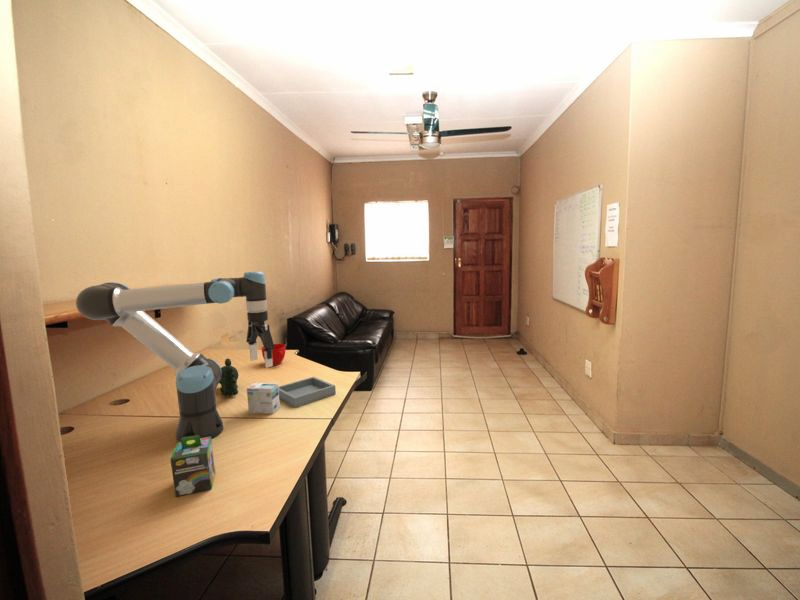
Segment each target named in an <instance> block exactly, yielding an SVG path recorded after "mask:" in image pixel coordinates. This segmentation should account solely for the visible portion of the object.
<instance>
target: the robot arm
mask: <svg viewBox="0 0 800 600" xmlns="http://www.w3.org/2000/svg"><path fill="white" fill-rule="evenodd" d="M266 287H267V286H266V278H265V274H264V272H263V271H258V270H257V271H246V272H244V273H243V276H242V277H224V278H222V277H219V278H213V279H211V280H210V281H205V282H195V283H185V284H183V283H182V284H174V285H173V284H172V285H166V286H165V285H162V286H154V287H153V286H152V287H151V286H150V287H143V288H142V287H141V288H130V287H129V286H127V285H125V284H123V283H120V282H119V283H118V282H104V283H102V284H101V283H100V284H97V285H96V284H95V285H92V286H88V287H86V288H84V289H82V290H81V291H80V292H79V293H78V294H77V297H76V298H75V299H76V300H75V307H76V310H77V311H78V313H80V315H82V316H83V317H84V318H87V319H88V320H91V321H92V320H93V321H102V320H104V321H106V322H107V323H109V324H110V325H111V326H112V327H121V328H123V329H124V331H126V332H128V333H129V334H130V335H131V336H133V338H135V339H136V340H137V341H139V342H140V343H141V344H142V345H144V347H146V348H147V349H149V351H151V352H152V353H154V354H155V355H156V356H157V357H158V358H160V360H162V361H163V362H165V363H166V364H167V365H168V366H169V367H170V368H172V369H173V370H174V371H175V387H176V394H177V404H178V412H179V418H178V422H177V425H176V429H175V438H176V441H177V442H178V443H179V442H181V438H185V437H191V436H197V435H198V436H200V438H204V437H210V436H211V439H213V438H215V437H217V436H219V435H220V434H221V433H222V432H223V431H224V422H223V420H222V417H221V415H220V414H219V412H218V409H217V404H216V403H217V401H216V389H217V387H218V385H219V384H220V383H219V382H220V380H221V374H222V371H221V368H222V367H221V366H220V364H219V363H218V362H217V361H216V360H214V359H212V358H207V357H205V355H204V354H202V353H201V352H193V351H192V350H191V349H189V347H187V346H186V345H184V344H183V343H182V341H180V340H179V339H178V338H176V337H175V336H174V335H173V334H172V333H171V332H169V331H168V330H167V329H166V328H164V327H163V326H162V325H161V324H160V323H158V322H157V320H155V319H154V318H153V317H151V316H150V315H149V314H148V313H146V311H154V310H162V309H163V310H164V309H173V308H180V307H181V308H182V307H190V306H197V305H199V306H200V305H207V304H219V305H220V304H226V303H229V302H230V301H231V300H232V299H233V298H243V297H245V305H246V307H245V308H246V311H247V313H246V316H247V321H248V322H247V326H248V327H247V333H246V343H248V344H247V345H249V346H248V347H249V356H250V361H256V360H259V358H258V346H257V345H258V344H257V339H258V337H259V338H260V340H261V343H262V347H263V346H264V348H265V349H264V355H265V360H264V364H265V367H264V368H271V367H273V366H274V365H273V360H272V350H273V349H275V347H274V344H275V343H274V341H273V337H272V333H271V331H270V325H269V324H265V322H266V321H268V320H269V315H268V313H269V312H268V311H267V310H268V301H267V288H266ZM188 441H189V440H188Z"/></svg>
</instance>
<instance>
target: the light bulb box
mask: <svg viewBox="0 0 800 600" xmlns="http://www.w3.org/2000/svg"><path fill="white" fill-rule="evenodd" d="M278 387H279V382H253V383H252V384H251V385H249V386H248V387H246V394H247V395H246V396H247V406H248V414H263V415H264V414H268V415H269V414H270V415H273V414H275V413H276V412H277V410H279V409H280V408H281V404H280V399H279V389H278Z"/></svg>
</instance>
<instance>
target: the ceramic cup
mask: <svg viewBox="0 0 800 600" xmlns="http://www.w3.org/2000/svg"><path fill="white" fill-rule="evenodd" d="M273 344H274V347H275V349H273V350H272V360H273V366H277V365H280V364H282V362H283V360H284V359H285V355H286V345H285V344H283V343H273ZM264 349H265V348H264V346H263V345H262V346H261V353H262V358H263V360H264V361H265V355H264Z"/></svg>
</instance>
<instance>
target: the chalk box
mask: <svg viewBox="0 0 800 600" xmlns="http://www.w3.org/2000/svg"><path fill="white" fill-rule="evenodd" d="M188 440H189V441H188ZM170 466H171V474H172V480H173V489H174V495H175V497H176V498H177V497H180V496H185V495H191V494H195V493H199V492H200V493H201V492H205V491H210V490H212V488H213V484H214V480H215V476H216V475H215V474H216V467H215V458H214V450H213V442H212V438H211V436H210V437H204V438H200V436H198V435H197V436H191V437H185V438H181V442H179V441H178V442H177V443H176V445H175V446H174V449H173V450H172V454H171V457H170Z"/></svg>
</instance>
